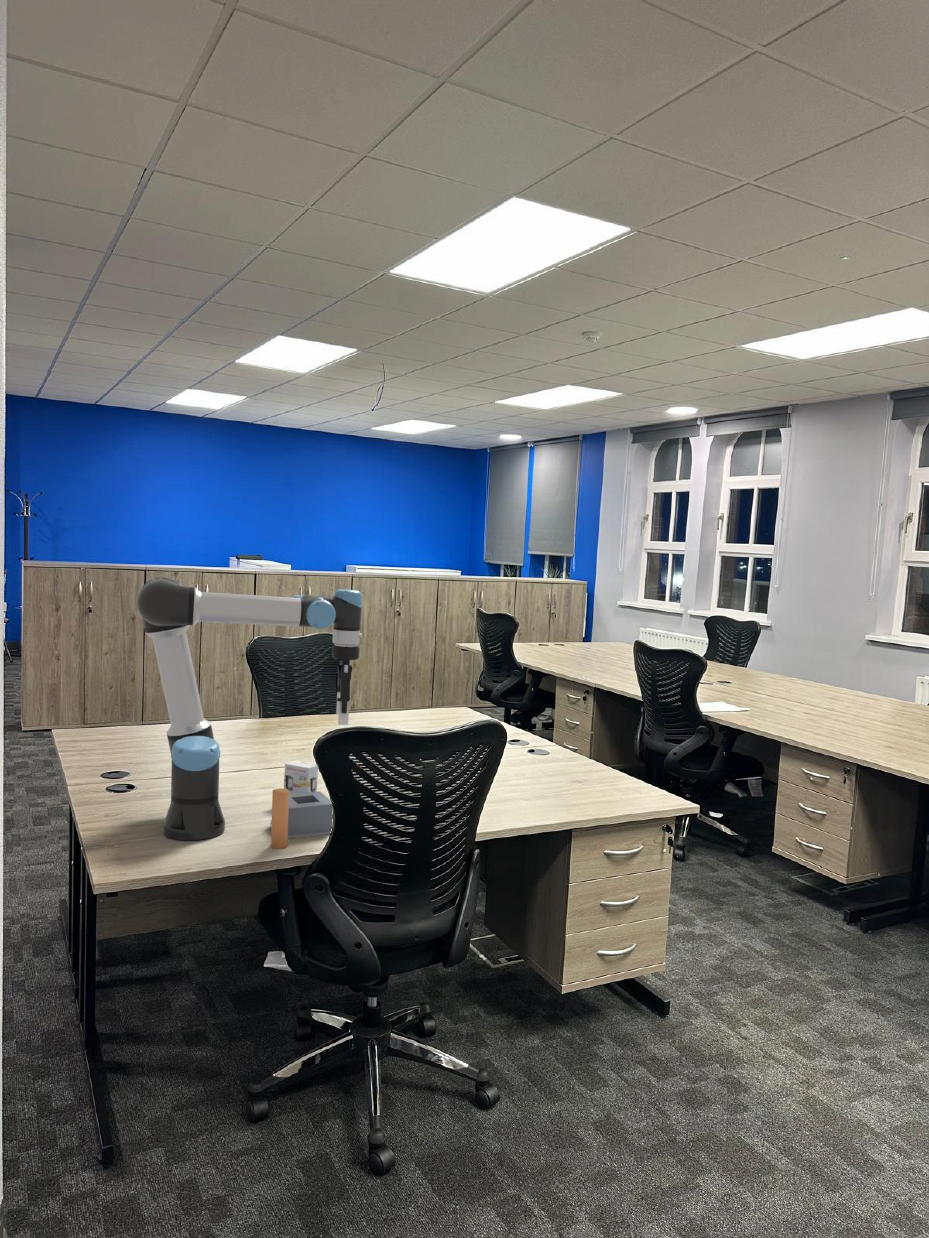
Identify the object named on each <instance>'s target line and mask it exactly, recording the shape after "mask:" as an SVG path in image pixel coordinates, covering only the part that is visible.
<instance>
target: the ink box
mask: <svg viewBox="0 0 929 1238" xmlns="http://www.w3.org/2000/svg"><path fill="white" fill-rule="evenodd" d="M316 764H317V763H311V762H306V761H302V760H296V759H295V760H292V761H289V762H286V763H284V777H283V778H284V779H283V789H288V790H289V794H296V793H307V792H317V791H318V777H319V775H318V774H319V766H318V767H317V765H318V764H317V765H316Z"/></svg>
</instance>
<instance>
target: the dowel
mask: <svg viewBox="0 0 929 1238" xmlns="http://www.w3.org/2000/svg"><path fill="white" fill-rule="evenodd" d="M271 796H272V800H271V803H272V804H271V820H272V823H271V829H270V830H271V833H270V834H271V839H270V847H271V848H272V849H275V850H282V849H283V850H284V849H286V848H288V845H289V843H288V842H289V841H288V840H289V839H288V813H289V790H288V789H284V787H283V788H282V787H281V788H280V787H279V788H275V789H273V790H272V795H271Z"/></svg>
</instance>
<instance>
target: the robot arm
mask: <svg viewBox="0 0 929 1238" xmlns="http://www.w3.org/2000/svg"><path fill="white" fill-rule="evenodd" d="M362 599H363V595H362V592H361V591H359V590H356V589H337V590H335V593H334V595H331V596H325V595H312V594H311V595H309V594H295V595H293V596H292V597H290V596H289V597H288V596H276V595H275V596H273V595H271V596H270V595H257V594H241V593H238V594H237V593H225V592H224V593H223V592H210V591H209V592H208V591H200V590H199V589H198V588H197V587H194V586H193V587H192V586H185V585H183V586H182V585H181V584H180V583H178V582H177V581H175V580H174V579H172V578H168V577H156V578H154V579H150V580H149V581H147V582H146V583H145V584H143V586H142V587H141V588H140V590H139V592H138V596H137V599H136V606H137V611H138V613H139V614H140V616H141V620H142V625H143V630H144V634H145V635H146V636H148V637H150V638H151V639H152V643H153V648H154V652H155V656H156V662H157V665H158V670H159V671H158V672H159V675H160V681H161V685H162V690H163V694H164V699H165V703H166V708H167V709H166V710H167V714H168V719H169V722H170V727H169V728H168V729H167V731H166V737H167V743H168V747H169V752H170V759H171V776H170V777H171V783H170V784H171V785H170V798H171V799H170V804H169V806H168V809H167V812H166V815H165V818H164V821H163V825H162V827H163V828H162V829H163V830H162V833H163V835H164V836H165V837H166V838H170V839H173V840H178V841H199V840H201V841H202V840H207V839H212V838H215V837H218V836H219V835H221V834H223V833H224V832H225V828H226V822H225V821H226V820H225V817H224V814H223V812H222V807H221V803H220V801H219V791H220V790H219V789H220V788H219V785H220V781H219V780H220V758H221V750H220V744H219V742H218V741H217V740H216V739H215V736H214V732H213V731H214V730H213V727H212V723H211V721H209V720H207V719H205V717H204V712H203V707H202V703H201V697H200V693H199V692H200V691H199V688H198V683H197V677H196V673H195V668H194V664H193V658H192V654H191V649H190V645H189V644H190V643H189V640H188V634H187V631H188V630H189V628H190V627H191V626H195V625H196V624H197V623H214V624H216V623H220V624H239V625H240V624H241V625H259V626H260V625H262V626H280V627H281V626H284V627H285V626H286V627H302V628H312V629H313V628H314V629H315V630H325V629H328V628H330V627H331V626H332V625H333V627H332V629H333V630H332V640H331V641H332V644H333V645H332V647H331V648H332V650H331V657H332V659H334V660H338V662H339V664H337V667H336V668H337V669H336V670H337V677H338V679H337V686H336V687H337V692H336V693H337V695H336V709H335V711H336V712H335V714H336V716H338V720H337V725H338V726H349V715H350V712H349V711H350V700H351V695H350V694H351V680H352V673H353V665H352V664H351V663H350V662H351V661H356V660H359V658H360V646H359V644H360V641H361V639H360V638H362V637H363V634H362V633H361V624H362V622H361V621H362V609H363V605H362V603H363V601H362Z"/></svg>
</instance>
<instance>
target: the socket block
mask: <svg viewBox="0 0 929 1238" xmlns="http://www.w3.org/2000/svg"><path fill="white" fill-rule="evenodd" d="M330 800H331V799H330V798H329V797H327V796H326V795H325V794H324V793H323V792H321V791H320V790H317V792H307V793H296V794H289V813H288V840H293V839H298V838H299V839H300V838H307V837H308V838H309V837H316V836H325V835H331V834H330V832H331V829H332V819H333V814H332V804H331V801H332V800H331V801H330ZM270 823H271V824H272V819H271V820H270Z"/></svg>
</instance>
